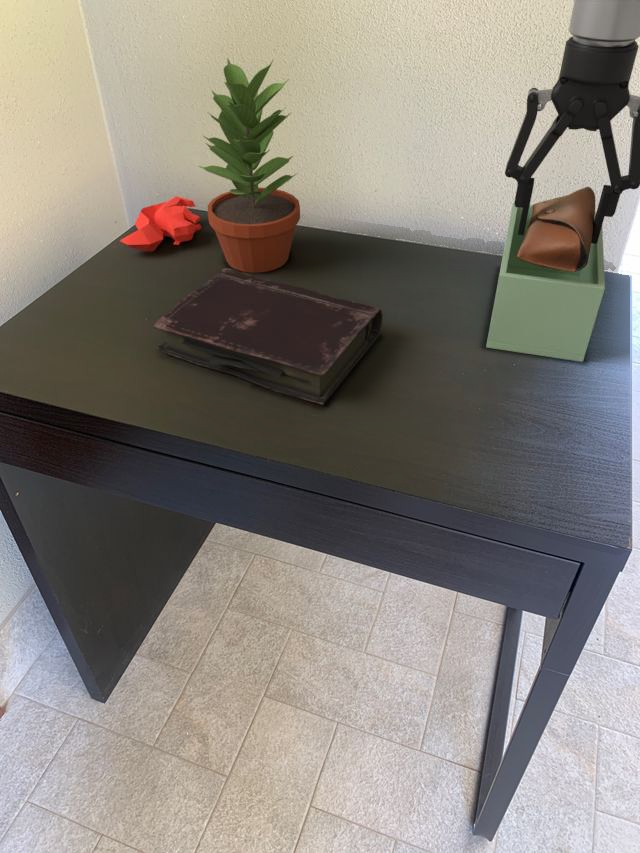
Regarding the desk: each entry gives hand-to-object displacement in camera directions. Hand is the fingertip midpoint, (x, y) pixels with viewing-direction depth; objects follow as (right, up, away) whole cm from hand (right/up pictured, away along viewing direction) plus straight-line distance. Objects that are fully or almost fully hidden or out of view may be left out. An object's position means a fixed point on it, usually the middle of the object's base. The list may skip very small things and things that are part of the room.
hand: (557, 234), depth 89 cm
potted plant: (-41, +3, +24) cm, 48 cm away
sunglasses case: (0, 0, 0) cm, 1 cm away
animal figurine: (-57, +7, +29) cm, 65 cm away
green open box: (+1, -8, +11) cm, 13 cm away
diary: (-38, -14, +5) cm, 40 cm away
